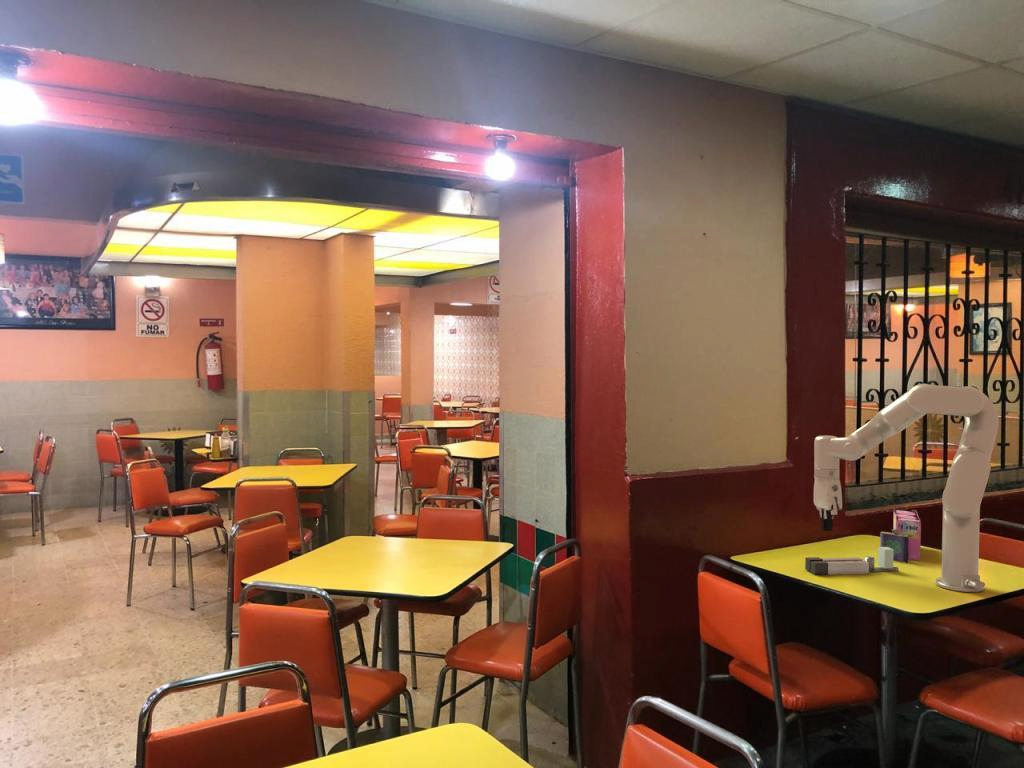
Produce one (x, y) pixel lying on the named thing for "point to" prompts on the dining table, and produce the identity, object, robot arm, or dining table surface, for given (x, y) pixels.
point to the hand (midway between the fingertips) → (826, 530)
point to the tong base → (846, 567)
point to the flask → (896, 544)
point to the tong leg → (827, 560)
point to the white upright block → (885, 557)
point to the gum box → (909, 530)
